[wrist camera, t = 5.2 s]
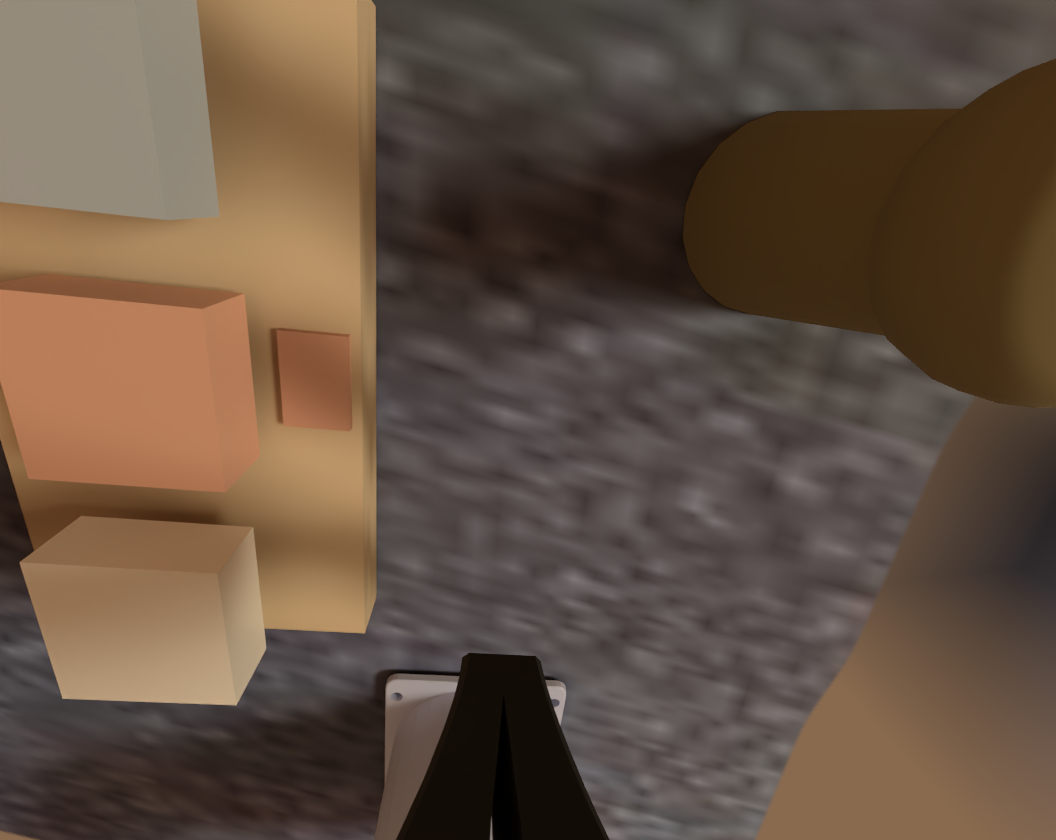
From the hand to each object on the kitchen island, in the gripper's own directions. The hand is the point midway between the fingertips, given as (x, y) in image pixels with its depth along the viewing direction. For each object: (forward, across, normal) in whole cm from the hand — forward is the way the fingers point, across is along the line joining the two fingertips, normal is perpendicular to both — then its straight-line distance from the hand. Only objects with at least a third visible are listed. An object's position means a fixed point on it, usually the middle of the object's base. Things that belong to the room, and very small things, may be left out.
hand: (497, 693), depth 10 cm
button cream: (+7, +10, +4) cm, 13 cm away
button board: (+10, +10, -3) cm, 15 cm away
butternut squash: (+11, -8, -9) cm, 16 cm away
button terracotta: (+8, +10, -3) cm, 13 cm away
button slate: (+7, +10, -10) cm, 16 cm away
